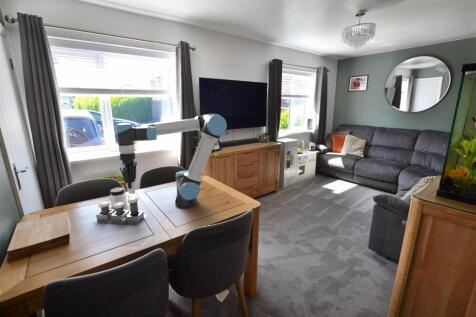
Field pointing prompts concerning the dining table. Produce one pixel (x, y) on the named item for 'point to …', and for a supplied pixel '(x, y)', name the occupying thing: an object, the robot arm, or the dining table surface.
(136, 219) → the console
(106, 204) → the knob
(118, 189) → the jar
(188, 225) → the dining table surface
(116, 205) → the knob mid
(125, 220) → the trim pot
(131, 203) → the knob
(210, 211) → the dining table surface
